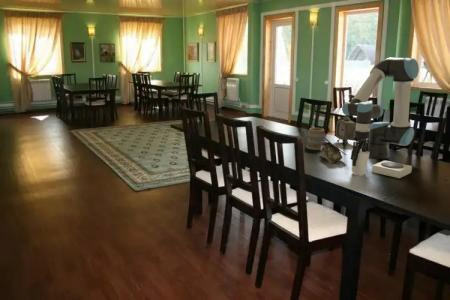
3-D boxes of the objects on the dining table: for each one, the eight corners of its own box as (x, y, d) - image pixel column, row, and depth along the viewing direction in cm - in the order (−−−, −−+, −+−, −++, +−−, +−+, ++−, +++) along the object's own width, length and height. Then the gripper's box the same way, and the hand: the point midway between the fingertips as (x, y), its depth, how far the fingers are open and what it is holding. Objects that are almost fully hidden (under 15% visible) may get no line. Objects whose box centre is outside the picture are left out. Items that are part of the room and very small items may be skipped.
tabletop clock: (334, 141, 305) (337, 109, 299) (345, 141, 307) (347, 109, 302) (344, 145, 292) (347, 112, 286) (355, 145, 294) (358, 112, 288)
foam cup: (367, 172, 224) (369, 150, 221) (367, 177, 216) (369, 154, 213) (349, 170, 227) (351, 149, 224) (349, 175, 219) (351, 152, 216)
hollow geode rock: (325, 160, 269) (310, 144, 267) (339, 147, 266) (325, 131, 265) (333, 170, 241) (317, 152, 240) (349, 157, 239) (333, 139, 237)
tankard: (326, 150, 277) (327, 129, 273) (308, 149, 277) (309, 129, 273) (320, 144, 296) (321, 124, 293) (303, 143, 296) (304, 124, 293)
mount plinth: (371, 171, 226) (372, 164, 225) (384, 166, 237) (384, 159, 236) (399, 178, 215) (400, 170, 214) (411, 172, 226) (412, 165, 225)
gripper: (358, 134, 206) (354, 174, 211) (378, 129, 220) (374, 167, 226) (346, 132, 211) (342, 171, 216) (365, 127, 226) (361, 164, 231)
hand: (358, 169), depth 221 cm, fingers closed on foam cup, 9 cm apart
